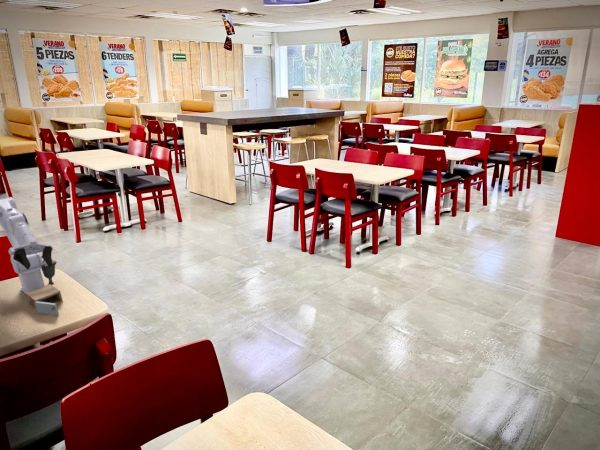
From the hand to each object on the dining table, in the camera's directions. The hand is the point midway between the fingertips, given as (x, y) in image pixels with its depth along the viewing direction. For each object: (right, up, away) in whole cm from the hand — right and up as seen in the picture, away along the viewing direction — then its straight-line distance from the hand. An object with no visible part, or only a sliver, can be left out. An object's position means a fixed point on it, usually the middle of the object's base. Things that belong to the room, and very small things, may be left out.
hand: (40, 266), depth 164 cm
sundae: (-11, -11, +27) cm, 31 cm away
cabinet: (-5, -15, +13) cm, 21 cm away
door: (0, -18, +4) cm, 19 cm away
